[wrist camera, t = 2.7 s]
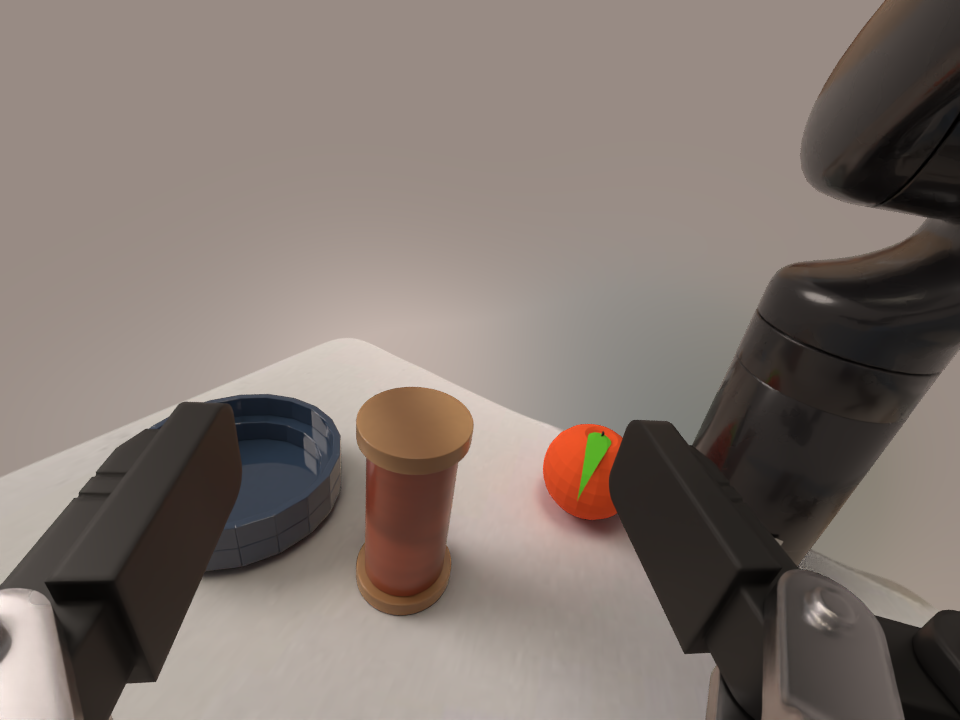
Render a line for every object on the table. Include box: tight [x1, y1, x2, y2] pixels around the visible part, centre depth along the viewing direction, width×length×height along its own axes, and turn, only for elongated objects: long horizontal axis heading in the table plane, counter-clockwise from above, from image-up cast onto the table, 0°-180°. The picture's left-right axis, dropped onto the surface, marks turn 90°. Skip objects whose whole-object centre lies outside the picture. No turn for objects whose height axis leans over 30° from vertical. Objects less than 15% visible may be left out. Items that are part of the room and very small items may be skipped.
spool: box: [356, 387, 474, 615], centre depth 26 cm, size 6×6×12 cm
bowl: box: [149, 394, 341, 571], centre depth 31 cm, size 13×13×4 cm
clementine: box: [543, 424, 623, 520], centre depth 33 cm, size 8×7×7 cm
